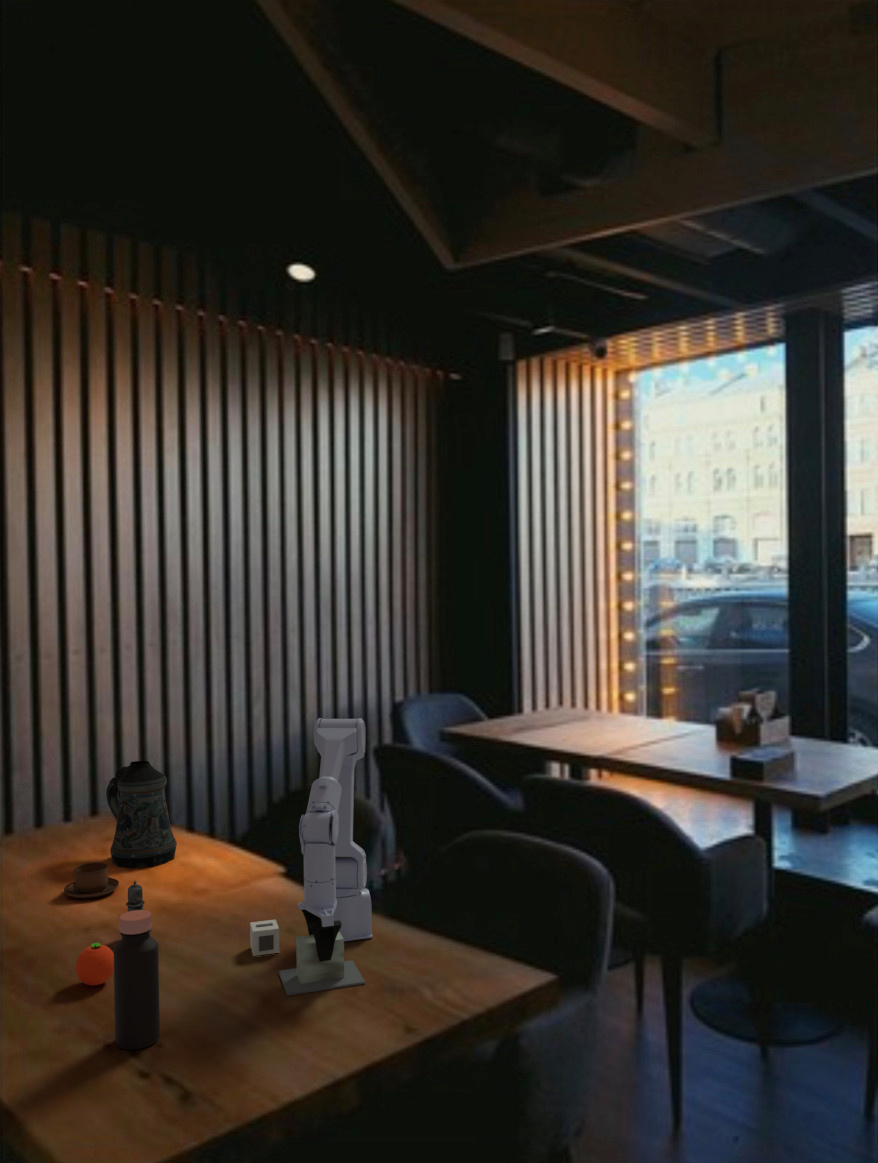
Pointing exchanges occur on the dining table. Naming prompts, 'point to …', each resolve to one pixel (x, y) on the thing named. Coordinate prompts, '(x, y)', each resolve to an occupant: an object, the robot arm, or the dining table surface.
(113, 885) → the cup and saucer
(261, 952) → the marked cube
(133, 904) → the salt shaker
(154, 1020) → the bottle
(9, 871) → the dining table surface
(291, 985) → the slate mat
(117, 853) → the beer stein
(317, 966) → the pale green block
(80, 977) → the clementine
